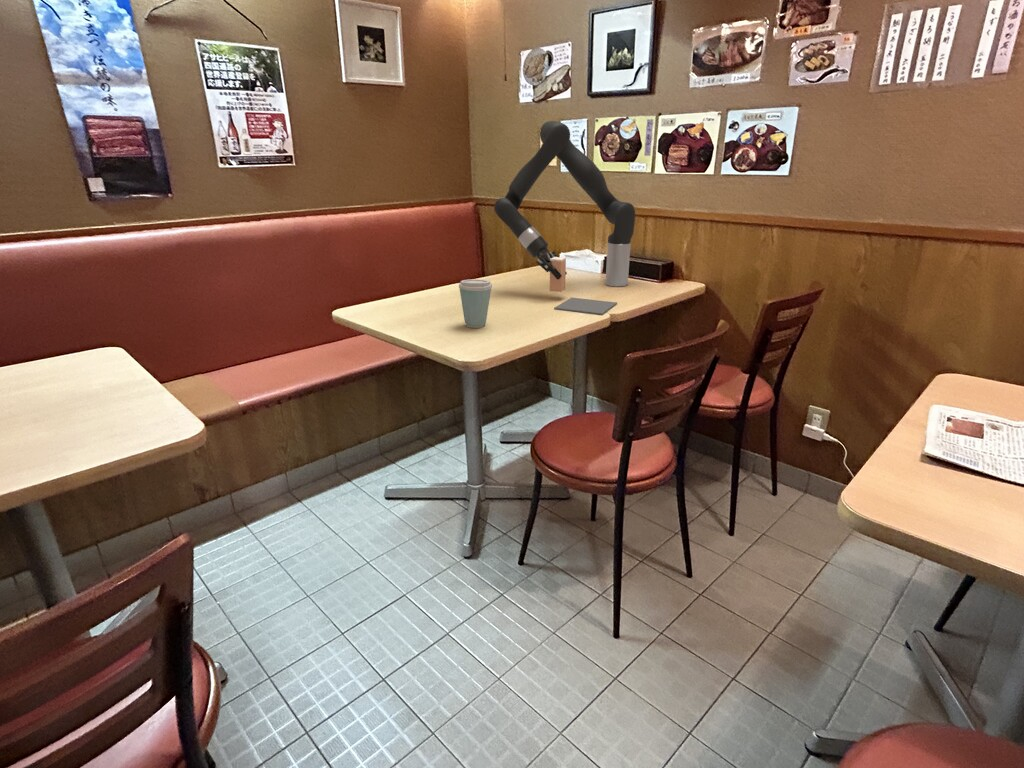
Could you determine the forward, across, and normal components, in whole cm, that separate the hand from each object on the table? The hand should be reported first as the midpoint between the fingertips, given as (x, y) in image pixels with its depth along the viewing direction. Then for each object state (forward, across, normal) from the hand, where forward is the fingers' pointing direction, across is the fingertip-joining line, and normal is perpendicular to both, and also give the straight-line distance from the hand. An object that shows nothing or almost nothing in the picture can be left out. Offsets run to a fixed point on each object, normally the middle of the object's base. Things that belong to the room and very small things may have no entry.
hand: (562, 276), depth 220 cm
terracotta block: (+2, 0, +5) cm, 6 cm away
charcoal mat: (+15, -6, -2) cm, 16 cm away
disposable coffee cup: (-3, -44, +14) cm, 47 cm away
